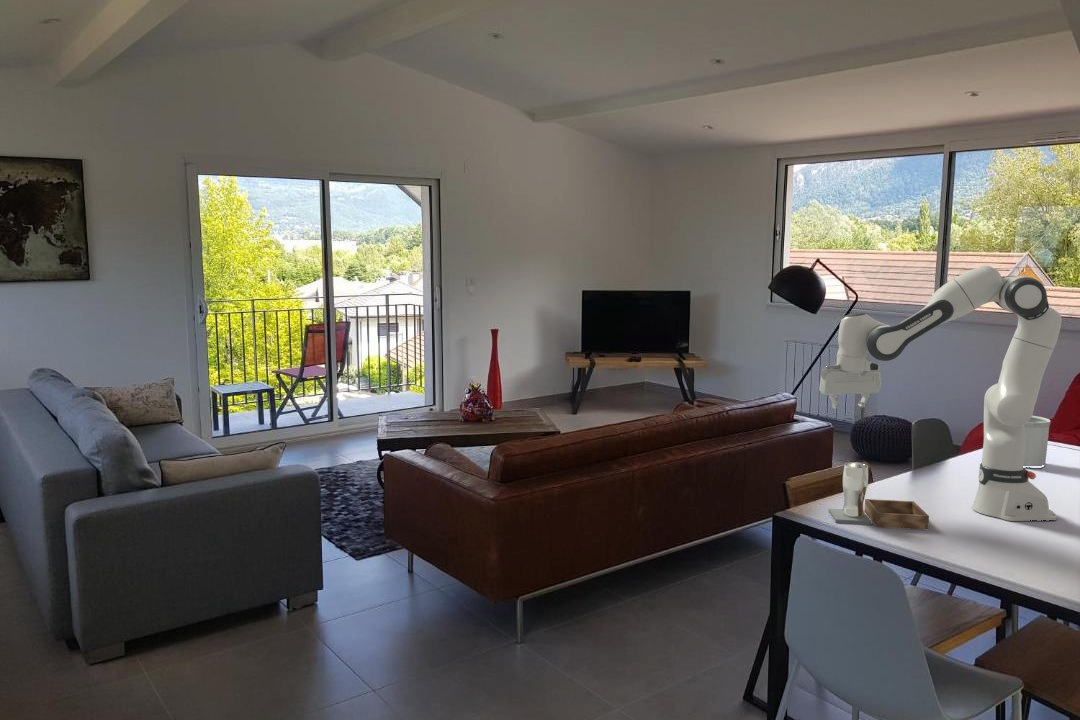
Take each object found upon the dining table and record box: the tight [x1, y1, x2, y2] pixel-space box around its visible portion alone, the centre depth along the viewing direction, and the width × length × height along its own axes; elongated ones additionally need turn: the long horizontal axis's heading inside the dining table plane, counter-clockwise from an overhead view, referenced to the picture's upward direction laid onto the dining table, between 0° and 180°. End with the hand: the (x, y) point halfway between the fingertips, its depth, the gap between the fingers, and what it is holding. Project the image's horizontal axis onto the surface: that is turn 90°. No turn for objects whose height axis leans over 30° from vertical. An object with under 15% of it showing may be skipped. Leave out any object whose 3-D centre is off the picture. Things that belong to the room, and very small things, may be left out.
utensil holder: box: [1023, 415, 1052, 466], centre depth 311 cm, size 15×15×18 cm
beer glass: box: [842, 462, 869, 518], centre depth 247 cm, size 7×7×15 cm
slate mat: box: [827, 508, 873, 525], centre depth 247 cm, size 10×10×1 cm
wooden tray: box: [863, 498, 930, 530], centre depth 246 cm, size 14×14×4 cm
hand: (848, 407), depth 265 cm, fingers open, 8 cm apart
